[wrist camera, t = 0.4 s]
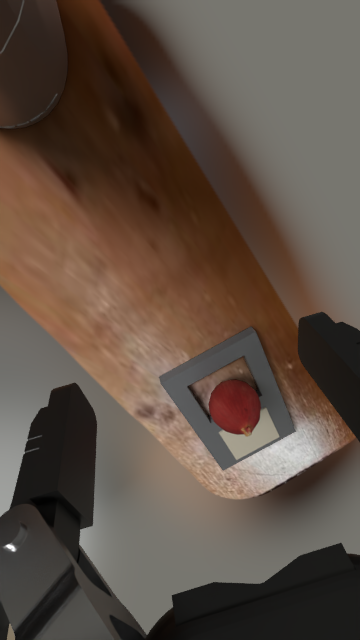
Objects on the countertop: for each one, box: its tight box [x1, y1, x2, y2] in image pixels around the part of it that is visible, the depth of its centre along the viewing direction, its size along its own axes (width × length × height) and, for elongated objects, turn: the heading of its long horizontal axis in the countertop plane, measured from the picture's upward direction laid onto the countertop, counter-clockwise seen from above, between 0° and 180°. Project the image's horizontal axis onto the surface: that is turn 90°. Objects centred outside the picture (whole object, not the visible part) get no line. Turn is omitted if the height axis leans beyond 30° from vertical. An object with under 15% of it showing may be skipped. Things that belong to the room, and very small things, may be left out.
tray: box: [159, 327, 296, 470], centre depth 40 cm, size 20×12×1 cm, turn 26°
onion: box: [209, 379, 261, 437], centre depth 35 cm, size 6×6×8 cm
